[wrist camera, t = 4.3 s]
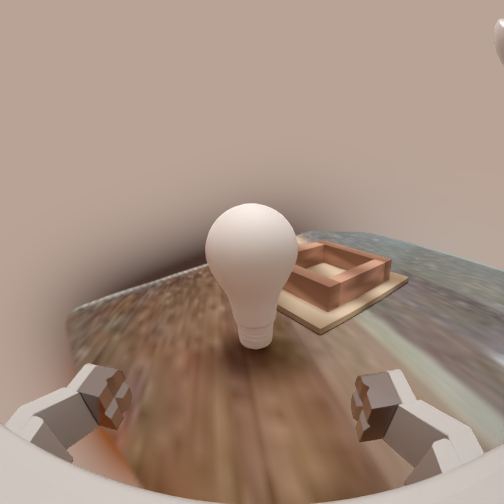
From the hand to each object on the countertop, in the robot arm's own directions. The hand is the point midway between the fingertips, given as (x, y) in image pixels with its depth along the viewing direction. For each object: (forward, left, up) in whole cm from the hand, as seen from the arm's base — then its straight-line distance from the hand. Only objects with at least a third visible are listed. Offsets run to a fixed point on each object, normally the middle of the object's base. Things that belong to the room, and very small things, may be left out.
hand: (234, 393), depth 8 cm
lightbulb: (-7, -9, -7) cm, 13 cm away
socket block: (-20, -14, -6) cm, 25 cm away
